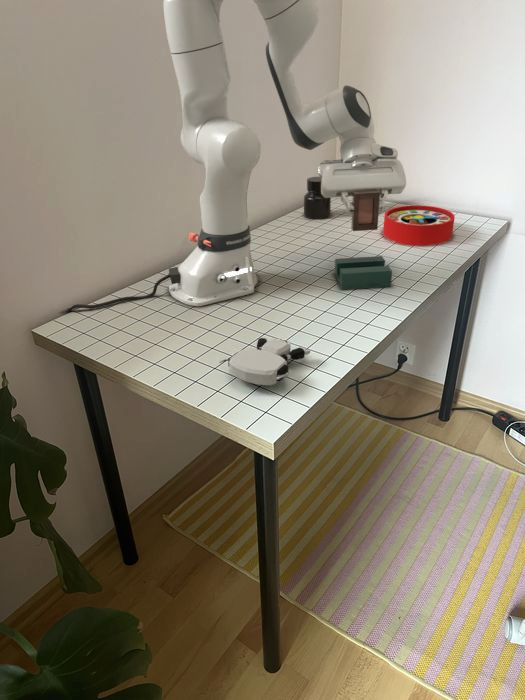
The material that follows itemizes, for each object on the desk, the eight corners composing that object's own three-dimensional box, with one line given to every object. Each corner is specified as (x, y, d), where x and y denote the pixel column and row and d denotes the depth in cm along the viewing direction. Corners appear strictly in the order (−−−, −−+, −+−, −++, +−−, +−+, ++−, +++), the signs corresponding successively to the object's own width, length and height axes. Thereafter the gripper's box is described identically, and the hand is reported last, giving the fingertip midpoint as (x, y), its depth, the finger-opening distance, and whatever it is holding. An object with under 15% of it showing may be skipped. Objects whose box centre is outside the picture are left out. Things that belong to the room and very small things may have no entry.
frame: (351, 228, 135) (352, 191, 130) (375, 227, 135) (378, 190, 130) (352, 231, 133) (354, 193, 128) (377, 229, 133) (380, 192, 129)
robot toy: (259, 349, 112) (217, 381, 101) (259, 329, 110) (216, 359, 99) (313, 363, 107) (275, 399, 95) (314, 342, 105) (276, 376, 93)
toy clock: (379, 206, 171) (444, 204, 170) (378, 224, 174) (442, 222, 173) (391, 226, 154) (463, 224, 153) (389, 246, 157) (460, 244, 156)
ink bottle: (333, 212, 188) (334, 176, 182) (329, 219, 180) (330, 182, 174) (305, 211, 190) (305, 175, 184) (300, 219, 182) (300, 182, 176)
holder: (334, 274, 142) (335, 258, 140) (380, 271, 142) (381, 255, 140) (341, 289, 133) (342, 273, 131) (390, 286, 134) (392, 270, 132)
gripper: (318, 153, 131) (324, 205, 128) (403, 149, 132) (411, 201, 128) (315, 168, 137) (321, 218, 134) (397, 164, 138) (404, 214, 134)
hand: (366, 210), depth 131 cm, fingers closed on frame, 6 cm apart
